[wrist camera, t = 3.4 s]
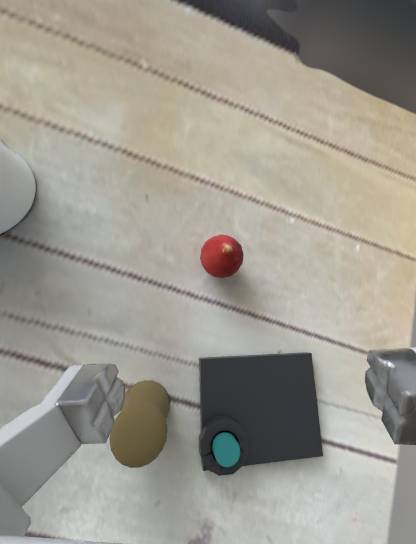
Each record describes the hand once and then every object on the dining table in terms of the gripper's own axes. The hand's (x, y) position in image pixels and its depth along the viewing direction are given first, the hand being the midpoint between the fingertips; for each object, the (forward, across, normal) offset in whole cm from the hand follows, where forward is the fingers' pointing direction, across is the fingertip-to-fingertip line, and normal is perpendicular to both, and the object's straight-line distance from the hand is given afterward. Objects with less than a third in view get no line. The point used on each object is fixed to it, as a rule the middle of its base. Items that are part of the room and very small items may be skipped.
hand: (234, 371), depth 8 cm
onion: (+30, +4, +8) cm, 31 cm away
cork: (+16, +14, +21) cm, 30 cm away
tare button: (+13, +4, +25) cm, 29 cm away
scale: (+18, 0, +25) cm, 31 cm away
